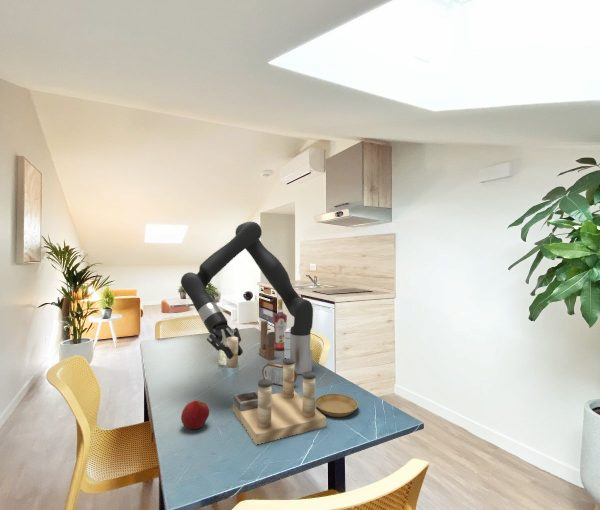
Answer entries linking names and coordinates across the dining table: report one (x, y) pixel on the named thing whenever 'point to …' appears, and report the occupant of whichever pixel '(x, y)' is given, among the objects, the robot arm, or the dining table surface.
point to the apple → (194, 414)
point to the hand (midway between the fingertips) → (236, 355)
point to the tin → (275, 373)
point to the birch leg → (233, 346)
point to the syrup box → (287, 343)
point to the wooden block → (267, 342)
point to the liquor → (280, 326)
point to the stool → (279, 408)
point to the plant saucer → (336, 404)
